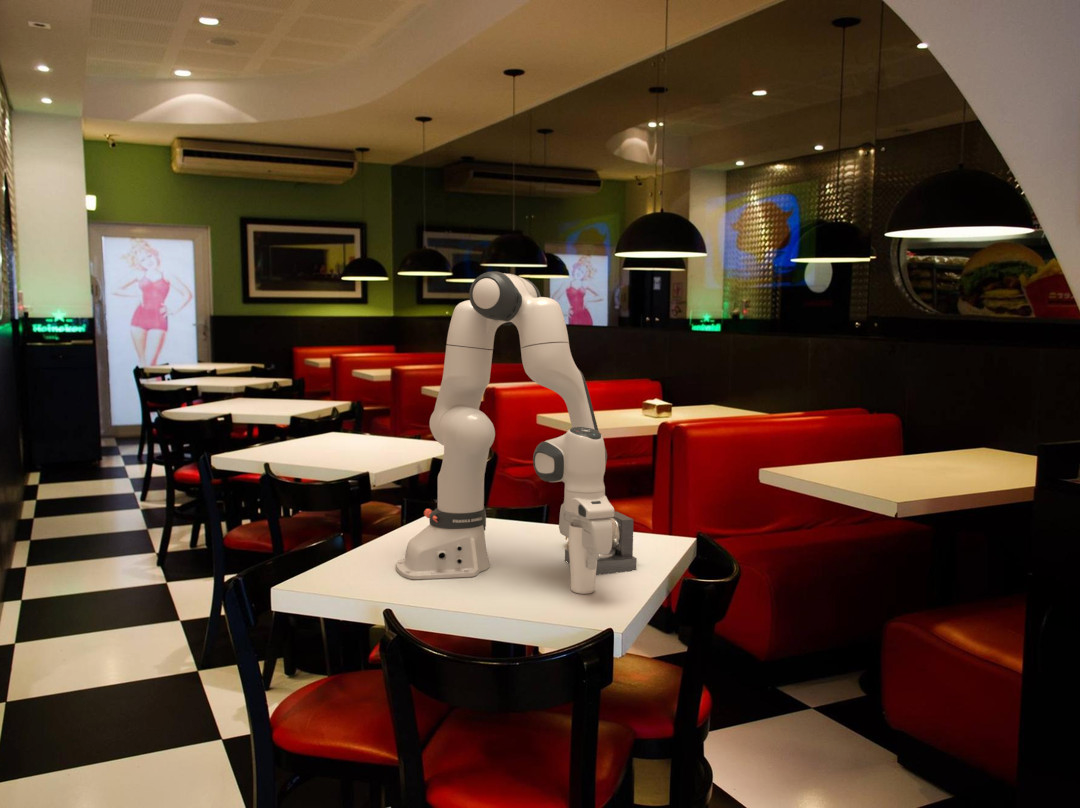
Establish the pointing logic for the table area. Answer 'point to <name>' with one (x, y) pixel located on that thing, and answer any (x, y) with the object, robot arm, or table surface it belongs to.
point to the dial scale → (617, 548)
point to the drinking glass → (579, 563)
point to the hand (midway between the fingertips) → (583, 563)
